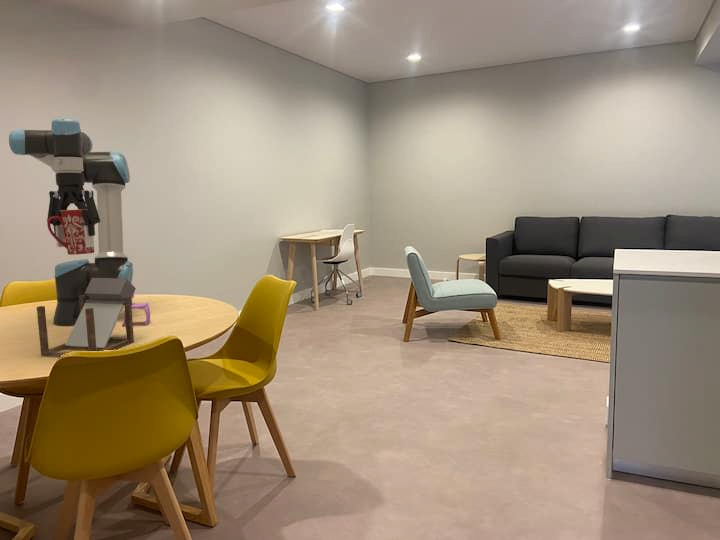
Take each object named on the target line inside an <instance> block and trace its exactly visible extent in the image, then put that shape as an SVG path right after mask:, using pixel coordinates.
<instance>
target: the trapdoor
mask: <svg viewBox="0 0 720 540" xmlns="http://www.w3.org/2000/svg"><path fill="white" fill-rule="evenodd" d="M135 292H136V287H135V286H134V284H133V283H132V282H131V283H130V282H129V281H128V280H127V279H119V278H92V279H91V281H90V283H89V285H88V287H87V289H86V291H85V294H86V295H87V296H88V297H89V298H90V299H91V300H86V301H85V304H84V307H83V309H82V311H81V313H80V315H79V317H78V319H77V321H76V323H75V325H73V328H72V330H71V332H70V334H69V336H68V338H67V339H66V342H65V343H66V344H65V346H71V347H73V348H74V347H75V348H76V347H78V348H81V347H82V348H88V337H87V325H86V314H85V309H87V308H93V312H94V324H95V336H96V349H105V348H107V345H108V343H109V342H108V341H109V338H110V337H112V333H113V331H114V330H115V326H116V324H117V322H118V320H119V318H120V315H121V313H122V310H123V308H124V304H123V302H124V297H131V299H132V296H133V294H134V295H135ZM132 300H133V299H132Z"/></svg>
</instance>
